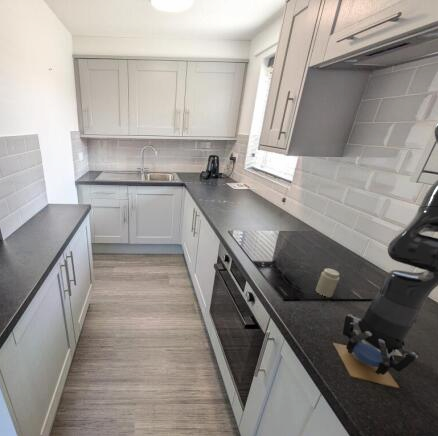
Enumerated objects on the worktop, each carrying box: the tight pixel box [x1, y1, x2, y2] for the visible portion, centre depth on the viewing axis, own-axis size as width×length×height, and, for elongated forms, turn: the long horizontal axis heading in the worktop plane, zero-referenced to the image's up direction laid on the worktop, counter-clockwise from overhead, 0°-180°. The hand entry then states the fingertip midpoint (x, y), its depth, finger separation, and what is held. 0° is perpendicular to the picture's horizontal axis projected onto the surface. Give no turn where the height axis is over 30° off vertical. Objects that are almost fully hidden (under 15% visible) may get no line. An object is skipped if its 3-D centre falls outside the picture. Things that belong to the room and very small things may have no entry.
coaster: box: [332, 342, 400, 389], centre depth 61 cm, size 10×10×1 cm
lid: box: [353, 342, 383, 367], centre depth 60 cm, size 6×6×2 cm
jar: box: [314, 267, 340, 298], centre depth 87 cm, size 5×5×10 cm
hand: (364, 361), depth 61 cm, fingers closed on lid, 5 cm apart
